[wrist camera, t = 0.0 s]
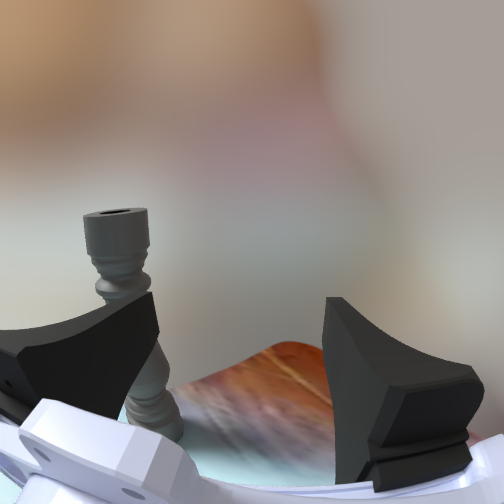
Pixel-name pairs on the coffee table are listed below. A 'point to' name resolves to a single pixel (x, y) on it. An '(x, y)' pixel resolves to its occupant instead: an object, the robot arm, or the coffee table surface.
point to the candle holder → (120, 285)
